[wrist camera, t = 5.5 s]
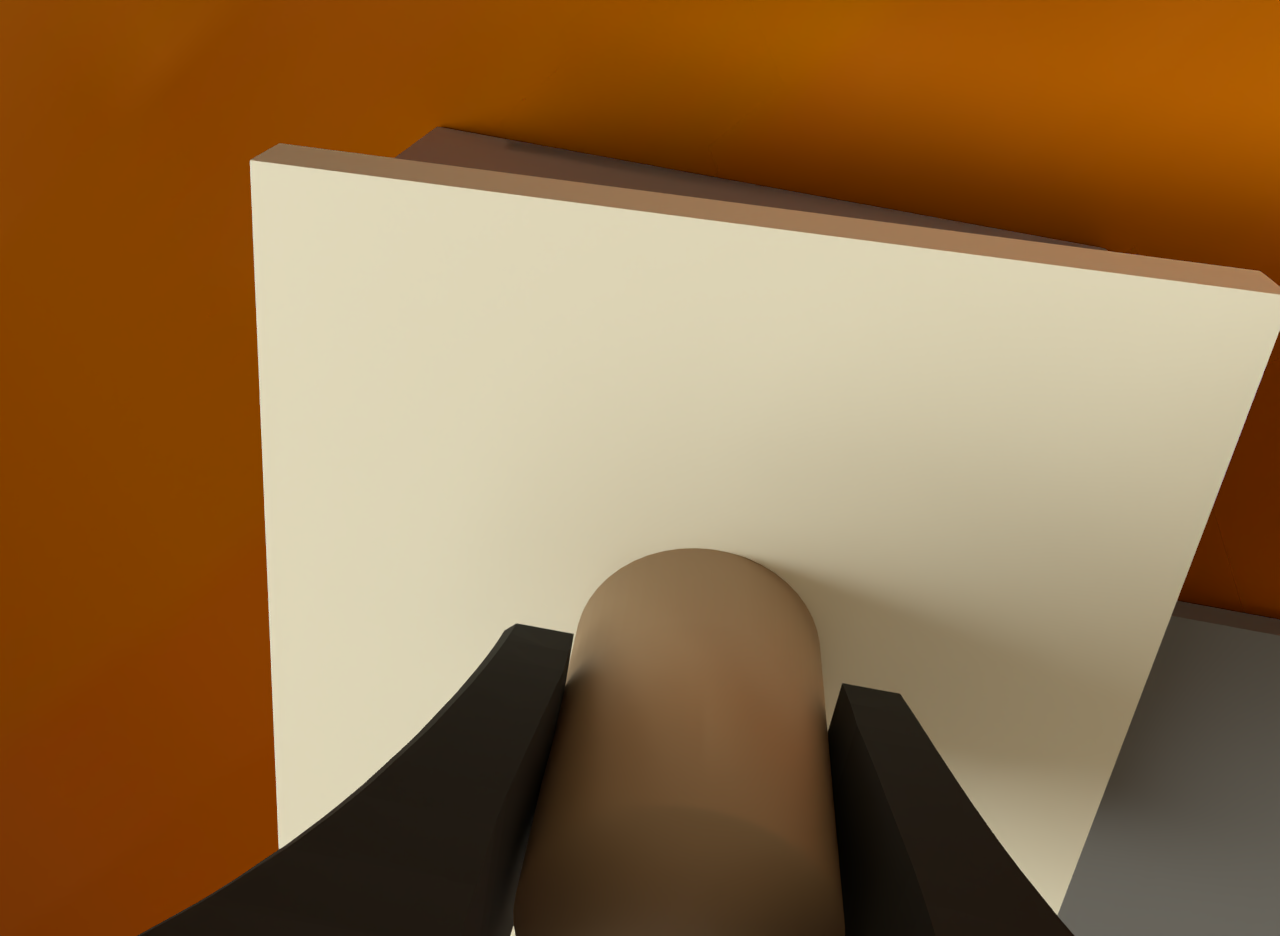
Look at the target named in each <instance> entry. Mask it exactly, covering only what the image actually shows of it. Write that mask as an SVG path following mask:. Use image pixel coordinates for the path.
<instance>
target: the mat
mask: <svg viewBox="0 0 1280 936" xmlns="http://www.w3.org/2000/svg"><path fill="white" fill-rule="evenodd" d="M1057 916H1058V917H1059V918H1060V919H1061V921H1062V922H1063V923H1064V924H1065V925H1066V926H1067V928H1068V929H1069V930H1070V931H1071V932H1072V933H1073V934H1074V936H1280V619H1274V618H1269V617H1263V616H1258V615H1252V614H1247V613H1241V612H1236V611H1230V610H1225V609H1220V608H1214V607H1209V606H1203V605H1198V604H1192V603H1187V602H1181V601H1177V602H1176V605H1175V607H1174V610H1173V612H1172V615H1171V618H1170V620H1169V623H1168V626H1167V628H1166V631H1165V634H1164V636H1163V639H1162V641H1161V644H1160V647H1159V649H1158V652H1157V655H1156V657H1155V660H1154V662H1153V665H1152V668H1151V670H1150V673H1149V676H1148V678H1147V681H1146V684H1145V686H1144V689H1143V691H1142V694H1141V697H1140V699H1139V702H1138V705H1137V707H1136V710H1135V712H1134V715H1133V718H1132V720H1131V723H1130V726H1129V728H1128V731H1127V734H1126V736H1125V739H1124V741H1123V744H1122V747H1121V749H1120V752H1119V755H1118V757H1117V760H1116V763H1115V765H1114V768H1113V770H1112V773H1111V776H1110V778H1109V781H1108V784H1107V786H1106V789H1105V791H1104V794H1103V797H1102V799H1101V802H1100V805H1099V807H1098V810H1097V813H1096V815H1095V818H1094V820H1093V823H1092V826H1091V828H1090V831H1089V834H1088V836H1087V839H1086V841H1085V844H1084V847H1083V849H1082V852H1081V855H1080V857H1079V860H1078V863H1077V865H1076V868H1075V870H1074V873H1073V876H1072V878H1071V881H1070V884H1069V886H1068V889H1067V891H1066V894H1065V897H1064V899H1063V902H1062V905H1061V907H1060V910H1059V913H1058V915H1057Z"/></svg>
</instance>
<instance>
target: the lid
mask: <svg viewBox="0 0 1280 936" xmlns="http://www.w3.org/2000/svg"><path fill="white" fill-rule="evenodd" d="M250 174H251V198H252V221H253V245H254V269H255V293H256V316H257V340H258V364H259V388H260V412H261V435H262V459H263V483H264V507H265V530H266V554H267V578H268V602H269V625H270V649H271V673H272V697H273V720H274V744H275V768H276V792H277V815H278V839H279V849H281V848H282V847H284V846H285V845H286V844H288V843H289V842H291V841H292V840H293V839H295V838H296V837H297V836H299V835H300V834H301V833H303V832H304V831H305V830H307V829H308V828H309V827H311V826H312V825H313V824H315V823H316V822H317V821H319V820H320V819H321V818H323V817H324V816H325V815H326V814H328V813H329V812H330V811H331V810H333V809H334V808H335V807H336V806H338V805H339V804H340V803H341V802H343V801H344V800H345V799H346V798H347V797H349V796H350V795H351V794H352V793H353V792H355V791H356V790H357V789H358V788H359V787H360V786H362V785H363V784H364V783H365V782H366V781H367V780H368V779H369V778H371V777H372V776H373V775H374V774H375V773H376V772H377V771H378V770H379V769H380V768H381V767H382V766H384V765H385V764H386V763H387V762H388V761H389V760H390V759H391V758H392V757H393V756H394V755H396V754H397V753H398V752H399V751H400V750H401V749H402V748H403V747H404V746H405V745H406V744H407V743H409V742H410V741H411V740H412V739H413V738H414V737H415V736H416V735H417V734H418V733H419V732H420V731H421V730H422V729H423V727H424V726H425V725H426V724H427V723H428V722H429V721H430V720H431V719H432V718H433V717H434V716H435V715H436V714H437V713H438V712H439V711H440V709H441V708H442V707H443V706H444V705H445V704H446V703H447V702H448V701H449V700H450V699H451V698H452V697H453V696H454V695H455V694H456V692H457V691H458V690H459V689H460V688H461V687H462V685H463V684H464V683H465V682H466V681H467V680H468V678H469V677H470V676H471V675H472V674H473V673H474V671H475V670H476V669H477V668H478V666H479V665H480V664H481V663H482V661H483V660H484V659H485V658H486V656H487V655H488V654H489V652H490V651H491V650H492V648H493V647H494V645H495V644H496V643H497V641H498V640H499V638H500V637H501V635H502V633H503V632H504V630H506V629H508V628H509V627H511V626H513V625H514V624H516V623H518V624H523V625H529V626H534V627H540V628H545V629H551V630H556V631H561V632H567V633H572V634H574V636H573V642H572V648H571V654H570V660H569V667H568V673H567V679H566V685H565V690H564V694H563V698H562V703H561V707H560V711H559V716H558V720H557V724H556V729H555V733H554V738H553V742H552V746H551V751H550V754H549V758H548V761H547V765H546V768H545V772H544V775H543V779H542V783H541V787H540V792H539V796H538V800H537V805H536V809H535V813H534V818H533V822H532V826H531V831H530V835H529V839H528V844H527V848H526V852H525V857H524V861H523V865H522V870H521V874H520V878H519V883H518V887H517V891H516V896H515V902H514V908H513V925H514V926H513V929H512V932H511V935H510V936H845V922H844V910H843V899H842V888H841V877H840V866H839V854H838V843H837V832H836V821H835V810H834V798H833V787H832V776H831V765H830V754H829V742H828V729H829V726H830V723H831V719H832V716H833V712H834V709H835V706H836V702H837V699H838V695H839V692H840V689H841V685H842V683H845V684H850V685H856V686H861V687H867V688H872V689H878V690H883V691H889V692H894V693H899V694H901V696H902V697H903V699H904V700H905V702H906V703H907V705H908V706H909V708H910V709H911V711H912V712H913V714H914V715H915V717H916V718H917V720H918V721H919V723H920V724H921V726H922V728H923V729H924V731H925V732H926V734H927V735H928V737H929V738H930V740H931V742H932V743H933V745H934V746H935V748H936V749H937V751H938V752H939V754H940V755H941V757H942V759H943V760H944V762H945V763H946V765H947V766H948V768H949V769H950V771H951V772H952V774H953V775H954V777H955V778H956V780H957V781H958V783H959V784H960V786H961V787H962V789H963V790H964V792H965V793H966V795H967V796H968V798H969V799H970V801H971V802H972V804H973V805H974V807H975V808H976V809H977V811H978V812H979V814H980V815H981V816H982V818H983V819H984V821H985V822H986V823H987V825H988V826H989V828H990V829H991V830H992V832H993V833H994V835H995V836H996V838H997V839H998V840H999V842H1000V843H1001V845H1002V846H1003V847H1004V849H1005V850H1006V851H1007V852H1008V854H1009V855H1010V856H1011V858H1012V859H1013V860H1014V862H1015V863H1016V864H1017V866H1018V867H1019V868H1020V870H1021V871H1022V872H1023V873H1024V875H1025V876H1026V877H1027V878H1028V880H1029V881H1030V882H1031V883H1032V885H1033V886H1034V887H1035V888H1036V890H1037V891H1038V892H1039V893H1040V895H1041V896H1042V897H1043V898H1044V900H1045V901H1046V902H1047V903H1048V905H1049V906H1050V907H1051V908H1052V910H1053V911H1054V912H1055V913H1056V915H1058V913H1059V910H1060V907H1061V905H1062V902H1063V899H1064V897H1065V894H1066V891H1067V889H1068V886H1069V884H1070V881H1071V878H1072V876H1073V873H1074V870H1075V868H1076V865H1077V863H1078V860H1079V857H1080V855H1081V852H1082V849H1083V847H1084V844H1085V841H1086V839H1087V836H1088V834H1089V831H1090V828H1091V826H1092V823H1093V820H1094V818H1095V815H1096V813H1097V810H1098V807H1099V805H1100V802H1101V799H1102V797H1103V794H1104V791H1105V789H1106V786H1107V784H1108V781H1109V778H1110V776H1111V773H1112V770H1113V768H1114V765H1115V763H1116V760H1117V757H1118V755H1119V752H1120V749H1121V747H1122V744H1123V741H1124V739H1125V736H1126V734H1127V731H1128V728H1129V726H1130V723H1131V720H1132V718H1133V715H1134V712H1135V710H1136V707H1137V705H1138V702H1139V699H1140V697H1141V694H1142V691H1143V689H1144V686H1145V684H1146V681H1147V678H1148V676H1149V673H1150V670H1151V668H1152V665H1153V662H1154V660H1155V657H1156V655H1157V652H1158V649H1159V647H1160V644H1161V641H1162V639H1163V636H1164V634H1165V631H1166V628H1167V626H1168V623H1169V620H1170V618H1171V615H1172V612H1173V610H1174V607H1175V605H1176V602H1177V599H1178V597H1179V594H1180V591H1181V589H1182V586H1183V584H1184V581H1185V578H1186V576H1187V573H1188V570H1189V568H1190V565H1191V562H1192V560H1193V557H1194V555H1195V552H1196V549H1197V547H1198V544H1199V541H1200V539H1201V536H1202V534H1203V531H1204V528H1205V526H1206V523H1207V520H1208V518H1209V515H1210V512H1211V510H1212V507H1213V505H1214V502H1215V499H1216V497H1217V494H1218V491H1219V489H1220V486H1221V484H1222V481H1223V478H1224V476H1225V473H1226V470H1227V468H1228V465H1229V462H1230V460H1231V457H1232V455H1233V452H1234V449H1235V447H1236V444H1237V441H1238V439H1239V436H1240V434H1241V431H1242V428H1243V426H1244V423H1245V420H1246V418H1247V415H1248V412H1249V410H1250V407H1251V405H1252V402H1253V399H1254V397H1255V394H1256V391H1257V389H1258V386H1259V384H1260V381H1261V378H1262V376H1263V373H1264V370H1265V368H1266V365H1267V362H1268V360H1269V357H1270V355H1271V352H1272V349H1273V347H1274V344H1275V341H1276V339H1277V336H1278V333H1279V331H1280V286H1279V285H1277V284H1276V283H1275V282H1274V281H1272V280H1271V279H1270V278H1268V277H1267V276H1266V275H1265V274H1263V273H1262V272H1261V271H1257V270H1249V269H1242V268H1234V267H1226V266H1218V265H1211V264H1203V263H1195V262H1188V261H1180V260H1172V259H1165V258H1157V257H1149V256H1142V255H1134V254H1126V253H1119V252H1111V251H1103V250H1096V249H1088V248H1080V247H1073V246H1065V245H1057V244H1049V243H1042V242H1034V241H1026V240H1019V239H1011V238H1003V237H996V236H988V235H980V234H973V233H965V232H957V231H950V230H942V229H934V228H927V227H919V226H911V225H903V224H896V223H888V222H880V221H873V220H865V219H857V218H850V217H842V216H834V215H827V214H819V213H811V212H804V211H796V210H788V209H781V208H773V207H765V206H757V205H750V204H742V203H734V202H727V201H719V200H711V199H704V198H696V197H688V196H681V195H673V194H665V193H658V192H650V191H642V190H635V189H627V188H619V187H611V186H604V185H596V184H588V183H581V182H573V181H565V180H558V179H550V178H542V177H535V176H527V175H519V174H512V173H504V172H496V171H489V170H481V169H473V168H465V167H458V166H450V165H442V164H435V163H427V162H419V161H412V160H404V159H396V158H389V157H381V156H373V155H366V154H358V153H350V152H343V151H335V150H327V149H320V148H312V147H304V146H296V145H289V144H281V143H279V144H277V145H276V146H274V147H272V148H270V149H269V150H267V151H265V152H263V153H262V154H260V155H258V156H256V157H255V158H253V159H251V160H250Z"/></svg>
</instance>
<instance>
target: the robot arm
mask: <svg viewBox="0 0 1280 936" xmlns="http://www.w3.org/2000/svg"><path fill="white" fill-rule="evenodd" d="M573 636H574V634H572V633H567V632H561V631H556V630H551V629H545V628H540V627H534V626H529V625H523V624H518V623H516V624H514V625H513V626H511V627H509V628H508V629H506V630H504V632H503V633H502V635H501V637H500V638H499V640H498V641H497V643H496V644H495V645H494V647H493V648H492V650H491V651H490V652H489V654H488V655H487V656H486V658H485V659H484V660H483V661H482V663H481V664H480V665H479V666H478V668H477V669H476V670H475V671H474V673H473V674H472V675H471V676H470V677H469V678H468V680H467V681H466V682H465V683H464V684H463V685H462V687H461V688H460V689H459V690H458V691H457V692H456V694H455V695H454V696H453V697H452V698H451V699H450V700H449V701H448V702H447V703H446V704H445V705H444V706H443V707H442V708H441V709H440V711H439V712H438V713H437V714H436V715H435V716H434V717H433V718H432V719H431V720H430V721H429V722H428V723H427V724H426V725H425V726H424V727H423V729H422V730H421V731H420V732H419V733H418V734H417V735H416V736H415V737H414V738H413V739H412V740H411V741H410V742H409V743H407V744H406V745H405V746H404V747H403V748H402V749H401V750H400V751H399V752H398V753H397V754H396V755H394V756H393V757H392V758H391V759H390V760H389V761H388V762H387V763H386V764H385V765H384V766H382V767H381V768H380V769H379V770H378V771H377V772H376V773H375V774H374V775H373V776H372V777H371V778H369V779H368V780H367V781H366V782H365V783H364V784H363V785H362V786H360V787H359V788H358V789H357V790H356V791H355V792H353V793H352V794H351V795H350V796H349V797H347V798H346V799H345V800H344V801H343V802H341V803H340V804H339V805H338V806H336V807H335V808H334V809H333V810H331V811H330V812H329V813H328V814H326V815H325V816H324V817H323V818H321V819H320V820H319V821H317V822H316V823H315V824H313V825H312V826H311V827H309V828H308V829H307V830H305V831H304V832H303V833H301V834H300V835H299V836H297V837H296V838H295V839H293V840H292V841H291V842H289V843H288V844H286V845H285V846H284V847H282V848H281V849H279V850H278V851H276V852H275V853H273V854H272V855H270V856H269V857H267V858H266V859H264V860H263V861H261V862H260V863H258V864H257V865H256V866H254V867H253V868H251V869H250V870H248V871H247V872H245V873H244V874H242V875H241V876H239V877H238V878H236V879H235V880H233V881H232V882H230V883H228V884H227V885H225V886H224V887H222V888H220V889H219V890H217V891H216V892H214V893H212V894H211V895H209V896H207V897H206V898H204V899H203V900H201V901H199V902H198V903H196V904H194V905H192V906H190V907H189V908H187V909H185V910H183V911H181V912H179V913H178V914H176V915H174V916H172V917H170V918H169V919H167V920H165V921H163V922H161V923H159V924H158V925H156V926H154V927H152V928H150V929H149V930H147V931H145V932H143V933H141V934H140V935H138V936H510V935H511V932H512V929H513V926H514V925H513V908H514V902H515V896H516V891H517V887H518V883H519V878H520V874H521V870H522V865H523V861H524V857H525V852H526V848H527V844H528V839H529V835H530V831H531V826H532V822H533V818H534V813H535V809H536V805H537V800H538V796H539V792H540V787H541V783H542V779H543V775H544V772H545V768H546V765H547V761H548V758H549V754H550V751H551V746H552V742H553V738H554V733H555V729H556V724H557V720H558V716H559V711H560V707H561V703H562V698H563V694H564V690H565V685H566V679H567V673H568V667H569V660H570V654H571V648H572V642H573ZM828 742H829V754H830V765H831V776H832V787H833V798H834V810H835V821H836V832H837V843H838V854H839V866H840V877H841V888H842V899H843V910H844V922H845V936H1074V934H1073V933H1072V932H1071V931H1070V930H1069V929H1068V928H1067V926H1066V925H1065V924H1064V923H1063V922H1062V921H1061V919H1060V918H1059V917H1058V916H1057V915H1056V913H1055V912H1054V911H1053V910H1052V908H1051V907H1050V906H1049V905H1048V903H1047V902H1046V901H1045V900H1044V898H1043V897H1042V896H1041V895H1040V893H1039V892H1038V891H1037V890H1036V888H1035V887H1034V886H1033V885H1032V883H1031V882H1030V881H1029V880H1028V878H1027V877H1026V876H1025V875H1024V873H1023V872H1022V871H1021V870H1020V868H1019V867H1018V866H1017V864H1016V863H1015V862H1014V860H1013V859H1012V858H1011V856H1010V855H1009V854H1008V852H1007V851H1006V850H1005V849H1004V847H1003V846H1002V845H1001V843H1000V842H999V840H998V839H997V838H996V836H995V835H994V833H993V832H992V830H991V829H990V828H989V826H988V825H987V823H986V822H985V821H984V819H983V818H982V816H981V815H980V814H979V812H978V811H977V809H976V808H975V807H974V805H973V804H972V802H971V801H970V799H969V798H968V796H967V795H966V793H965V792H964V790H963V789H962V787H961V786H960V784H959V783H958V781H957V780H956V778H955V777H954V775H953V774H952V772H951V771H950V769H949V768H948V766H947V765H946V763H945V762H944V760H943V759H942V757H941V755H940V754H939V752H938V751H937V749H936V748H935V746H934V745H933V743H932V742H931V740H930V738H929V737H928V735H927V734H926V732H925V731H924V729H923V728H922V726H921V724H920V723H919V721H918V720H917V718H916V717H915V715H914V714H913V712H912V711H911V709H910V708H909V706H908V705H907V703H906V702H905V700H904V699H903V697H902V696H901V694H899V693H894V692H889V691H883V690H878V689H872V688H867V687H861V686H856V685H850V684H845V683H842V685H841V689H840V692H839V695H838V699H837V702H836V706H835V709H834V712H833V716H832V719H831V723H830V726H829V729H828Z"/></svg>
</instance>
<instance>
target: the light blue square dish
mask: <svg viewBox="0 0 1280 936" xmlns="http://www.w3.org/2000/svg"><path fill="white" fill-rule="evenodd" d="M395 158H396V159H404V160H412V161H419V162H427V163H435V164H442V165H450V166H458V167H465V168H473V169H481V170H489V171H496V172H504V173H512V174H519V175H527V176H535V177H542V178H550V179H558V180H565V181H573V182H581V183H588V184H596V185H604V186H611V187H619V188H627V189H635V190H642V191H650V192H658V193H665V194H673V195H681V196H688V197H696V198H704V199H711V200H719V201H727V202H734V203H742V204H750V205H757V206H765V207H773V208H781V209H788V210H796V211H804V212H811V213H819V214H827V215H834V216H842V217H850V218H857V219H865V220H873V221H880V222H888V223H896V224H903V225H911V226H919V227H927V228H934V229H942V230H950V231H957V232H965V233H973V234H980V235H988V236H996V237H1003V238H1011V239H1019V240H1026V241H1034V242H1042V243H1049V244H1057V245H1065V246H1073V247H1080V248H1088V249H1096V250H1103V251H1107V250H1106V249H1105V248H1100V247H1095V246H1089V245H1084V244H1078V243H1073V242H1068V241H1062V240H1057V239H1051V238H1046V237H1040V236H1035V235H1029V234H1024V233H1018V232H1013V231H1007V230H1002V229H996V228H991V227H985V226H980V225H974V224H969V223H963V222H958V221H952V220H947V219H942V218H936V217H931V216H925V215H920V214H914V213H909V212H903V211H898V210H892V209H887V208H881V207H876V206H870V205H865V204H859V203H854V202H848V201H843V200H837V199H832V198H826V197H821V196H815V195H810V194H805V193H799V192H794V191H788V190H783V189H777V188H772V187H766V186H761V185H755V184H750V183H744V182H739V181H733V180H728V179H722V178H717V177H711V176H706V175H700V174H695V173H689V172H684V171H679V170H673V169H668V168H662V167H657V166H651V165H646V164H640V163H635V162H629V161H624V160H618V159H613V158H607V157H602V156H596V155H591V154H585V153H580V152H574V151H569V150H563V149H558V148H552V147H547V146H542V145H536V144H531V143H525V142H520V141H514V140H509V139H503V138H498V137H492V136H487V135H481V134H476V133H470V132H465V131H459V130H454V129H448V128H443V127H436V128H435V129H433V130H432V131H430V132H429V133H428V134H426V135H425V136H424V137H422V138H421V139H420V140H418V141H417V142H416V143H414V144H413V145H411V146H410V147H409V148H407V149H406V150H405V151H403V152H402V153H401V154H399V155H398V156H397V157H395Z"/></svg>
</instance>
